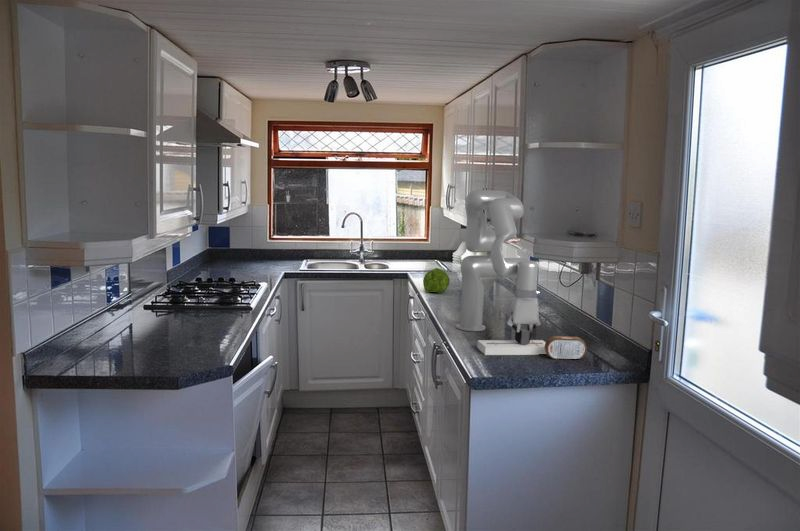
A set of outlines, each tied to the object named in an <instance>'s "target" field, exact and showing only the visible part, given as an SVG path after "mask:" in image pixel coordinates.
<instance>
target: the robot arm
mask: <svg viewBox="0 0 800 531" xmlns="http://www.w3.org/2000/svg"><path fill="white" fill-rule="evenodd" d="M522 202H523V201H521V200H520V199H519V198H518V197H516V196H515V195H514V194H511V193H510V192H508V191H505V190H499V189H498V190H496V189H495V190H493V189H475V190H472V191H470V192H468V194H467V196H466V197H465V203H464V205H465V206H464V209H465V212H466V213H465V214H466V226H465V227H466V230H465V249H466V250H467V251H468V252H470V253H486V254H485V255H482V254H481V255H468V256H465V257H463V258H462V260H461V262H460V272H461V297H460V299H461V300H460V316H459V322H458V323H456V324H455V327H456V329H458V330H460V331H464V332H483V331H485V330H486V325H484V324H483V315H484V314H483V312H484V298H485V288H484V284H483V283H482V281H481V279H483V278H495V277H497V276H498V277H499V278H502V279H504V278H505V279H509V278H516V286H515V287H516V289H515V296H513V297H512V300H511V305H510V310H509V318H508V320H507V321H506V325H507V326H510V327H511V328H512V329H513V330H514V332H515V334H514V340H516V341H517V342H518V343H520V339H521V332H520V328H521V325H526V329H527V330H529V331H530V335H529V343H530V340H532V333H533V332H534V330H535V329H536V328H538V327H540V326H541V325H542V322H541V321H540V318H539V317H540V315H539V314H540V310H539V300H538V297H537V296H538V295H540V294H541V291H540V290H538V289H537V288H538V274H539V273H538V272H539V264H538V263H537V262H536V261H533V260H529V259H527V258H526V257H525V258H524V257H504V253H503V244H504V243H507V242H508V241H510V240H513V238H515V237H516V236H517V234H518V230H517V229H518V228H517V226H516V224H515V220H519V219H521V218H522V217H523V216H524V212H525V209H524V208H525V207H524V204H523V203H522ZM484 211H487V212H488V213H489V217H490V220H491V224H492V228H493V229H487V228H488V227H487V225H488V219H487V218H488V217H487V216H486V214H485V213H484Z"/></svg>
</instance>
